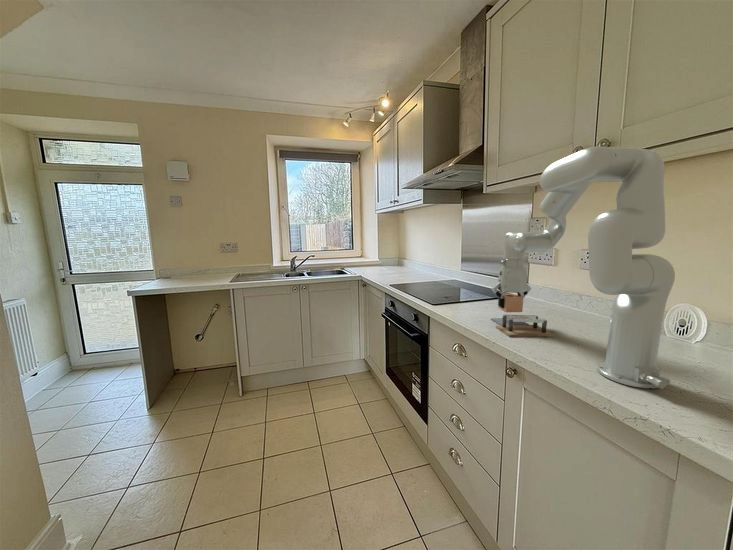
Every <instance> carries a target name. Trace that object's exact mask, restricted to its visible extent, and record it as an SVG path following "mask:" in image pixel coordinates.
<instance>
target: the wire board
mask: <svg viewBox="0 0 733 550" xmlns="http://www.w3.org/2000/svg"><path fill="white" fill-rule="evenodd" d="M508 328H509V325H506V327H502V326H500V325H495V329H497V330H498V329H499V330H498V331H500V332H501V333H503V334H504V335H506V336H508V337H509V338H518V337H521V338H523V337H545V336H546V337H548V336H549V337H553V336H554V333H553V332H551V331H549V330H547V329H546V333H542V326H539V325H537V328H533V324H529V325H513V331H508Z"/></svg>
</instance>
